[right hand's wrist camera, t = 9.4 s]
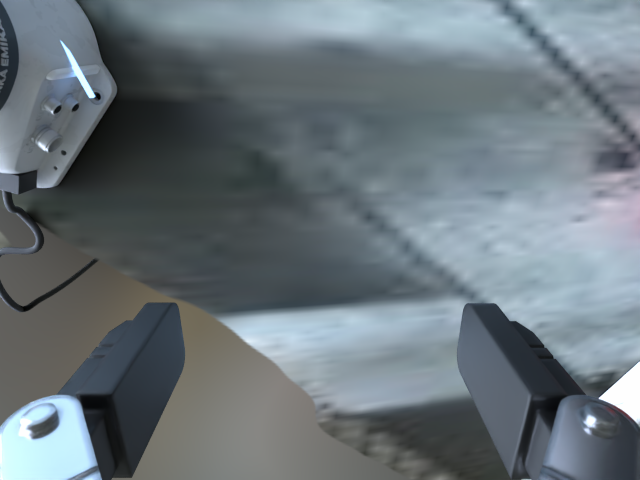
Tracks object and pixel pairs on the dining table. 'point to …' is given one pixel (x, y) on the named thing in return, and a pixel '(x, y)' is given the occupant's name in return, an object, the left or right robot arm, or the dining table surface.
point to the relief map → (626, 394)
